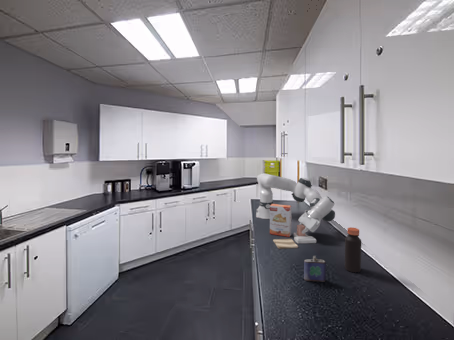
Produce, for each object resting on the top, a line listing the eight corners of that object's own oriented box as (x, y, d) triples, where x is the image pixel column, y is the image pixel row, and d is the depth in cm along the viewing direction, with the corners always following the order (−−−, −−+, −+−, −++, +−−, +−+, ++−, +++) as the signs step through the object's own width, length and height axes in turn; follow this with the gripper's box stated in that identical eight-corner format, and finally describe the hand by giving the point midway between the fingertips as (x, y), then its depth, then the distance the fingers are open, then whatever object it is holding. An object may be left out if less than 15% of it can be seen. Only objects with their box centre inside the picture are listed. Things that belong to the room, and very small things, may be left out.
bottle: (353, 265, 110) (354, 226, 108) (364, 272, 103) (365, 231, 102) (341, 266, 109) (342, 227, 108) (351, 273, 102) (351, 232, 101)
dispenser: (290, 235, 151) (290, 232, 151) (307, 235, 152) (307, 231, 151) (297, 243, 137) (297, 240, 137) (316, 242, 138) (316, 239, 138)
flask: (304, 281, 97) (304, 257, 97) (303, 277, 100) (303, 254, 99) (326, 282, 96) (326, 258, 95) (324, 278, 99) (324, 255, 98)
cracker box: (269, 234, 154) (269, 205, 153) (271, 231, 159) (271, 203, 158) (289, 237, 148) (289, 207, 146) (291, 234, 153) (291, 205, 151)
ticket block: (296, 236, 149) (297, 225, 149) (302, 236, 150) (302, 224, 149) (299, 238, 145) (299, 226, 145) (305, 238, 146) (305, 226, 145)
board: (273, 240, 143) (273, 239, 142) (291, 240, 143) (291, 238, 143) (278, 248, 131) (278, 247, 131) (298, 247, 131) (298, 246, 131)
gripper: (325, 224, 137) (309, 240, 137) (311, 215, 157) (297, 229, 157) (318, 217, 136) (302, 233, 137) (305, 209, 157) (291, 223, 157)
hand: (300, 231), depth 147 cm, fingers open, 5 cm apart
